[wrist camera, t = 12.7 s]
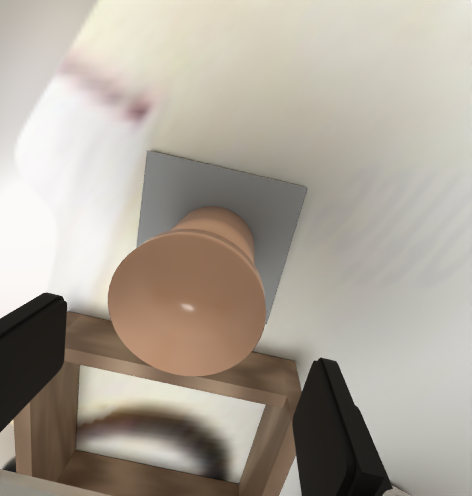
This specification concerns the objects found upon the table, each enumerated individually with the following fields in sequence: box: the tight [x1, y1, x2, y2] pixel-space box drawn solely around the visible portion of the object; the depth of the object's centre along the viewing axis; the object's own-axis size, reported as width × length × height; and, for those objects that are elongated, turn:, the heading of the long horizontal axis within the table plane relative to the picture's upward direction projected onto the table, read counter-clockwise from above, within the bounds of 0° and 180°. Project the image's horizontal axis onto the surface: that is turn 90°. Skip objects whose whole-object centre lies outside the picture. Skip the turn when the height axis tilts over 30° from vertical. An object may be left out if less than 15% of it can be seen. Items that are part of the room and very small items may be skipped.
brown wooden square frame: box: [14, 312, 302, 496], centre depth 24 cm, size 20×18×6 cm
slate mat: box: [136, 151, 307, 324], centre depth 21 cm, size 11×11×1 cm
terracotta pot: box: [108, 206, 266, 376], centre depth 16 cm, size 7×7×9 cm
